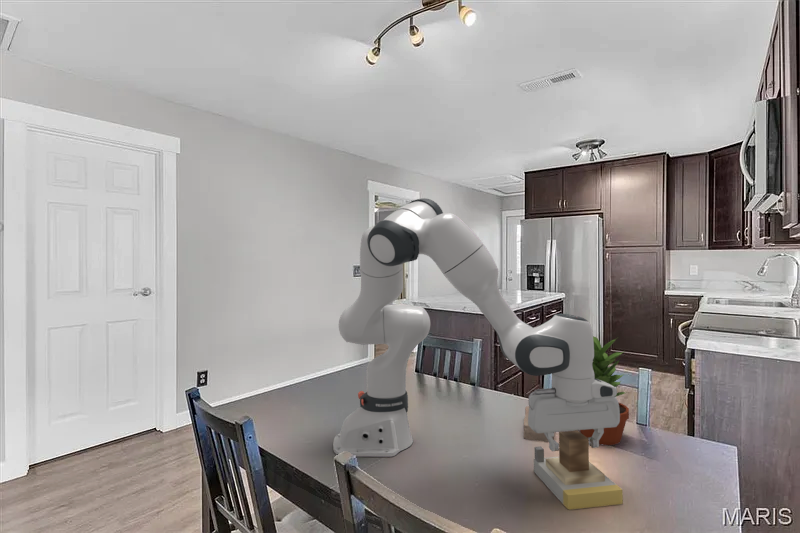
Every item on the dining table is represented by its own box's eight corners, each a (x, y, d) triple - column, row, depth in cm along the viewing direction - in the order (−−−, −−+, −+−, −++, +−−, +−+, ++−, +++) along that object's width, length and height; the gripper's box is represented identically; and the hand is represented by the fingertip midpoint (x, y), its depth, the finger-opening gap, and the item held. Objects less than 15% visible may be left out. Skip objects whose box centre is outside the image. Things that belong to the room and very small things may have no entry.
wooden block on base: (565, 485, 91) (564, 445, 91) (545, 465, 100) (544, 428, 100) (604, 481, 92) (604, 442, 92) (581, 461, 101) (581, 425, 101)
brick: (554, 443, 118) (554, 426, 118) (523, 440, 121) (522, 423, 121) (553, 422, 134) (553, 407, 134) (525, 419, 137) (525, 404, 137)
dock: (568, 509, 87) (567, 480, 87) (533, 471, 103) (533, 446, 103) (622, 503, 89) (622, 475, 88) (580, 466, 104) (580, 442, 104)
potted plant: (644, 443, 116) (642, 333, 116) (598, 452, 112) (596, 338, 111) (603, 423, 130) (602, 325, 130) (561, 430, 126) (559, 329, 126)
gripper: (534, 394, 91) (536, 458, 91) (623, 388, 93) (624, 450, 94) (522, 385, 97) (523, 446, 97) (606, 380, 100) (607, 438, 100)
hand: (574, 448), depth 96 cm, fingers open, 8 cm apart
